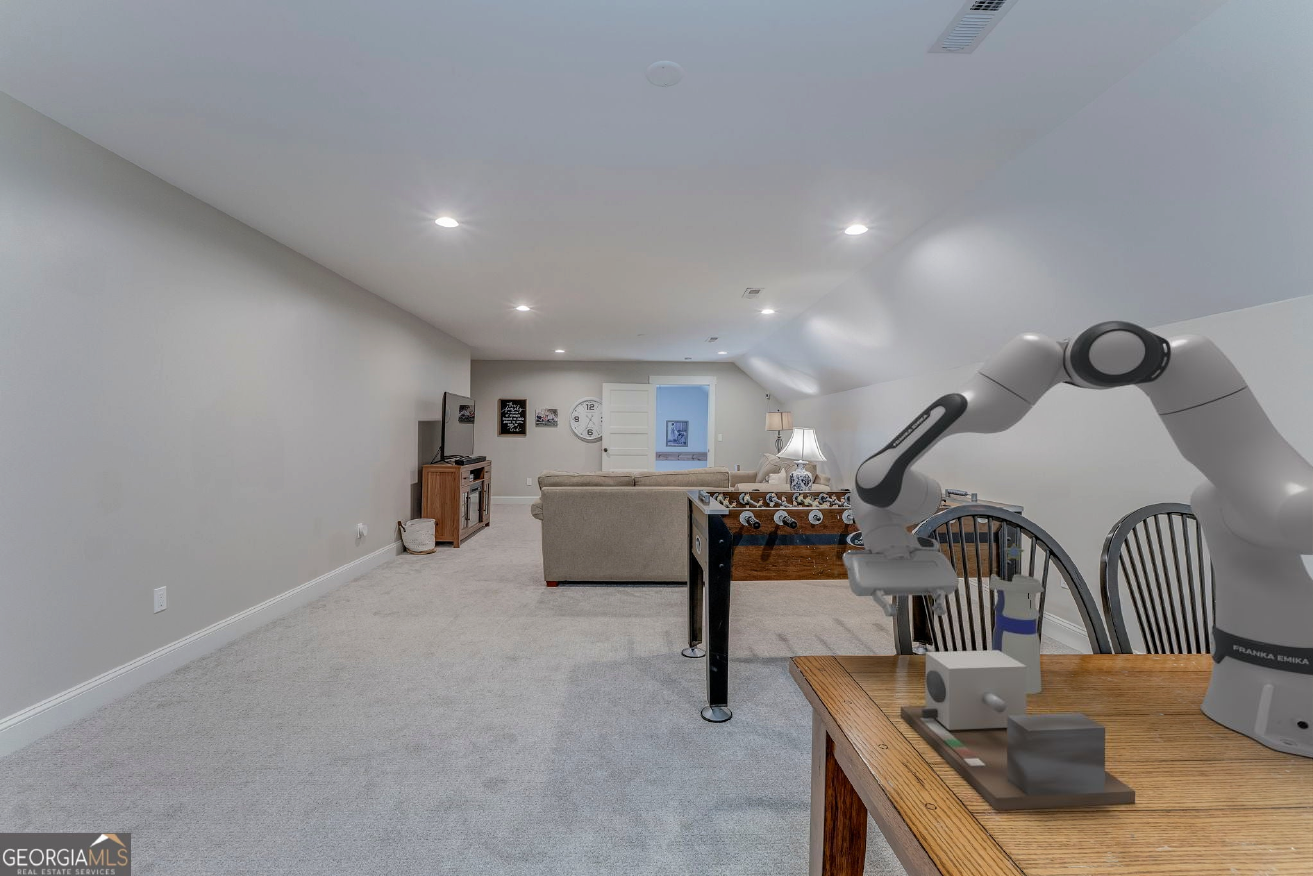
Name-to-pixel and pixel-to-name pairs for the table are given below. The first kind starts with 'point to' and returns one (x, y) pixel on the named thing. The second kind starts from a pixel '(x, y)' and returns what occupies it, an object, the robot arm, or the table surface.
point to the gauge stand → (1029, 760)
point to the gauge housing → (974, 689)
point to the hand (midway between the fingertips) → (916, 614)
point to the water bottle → (1018, 622)
